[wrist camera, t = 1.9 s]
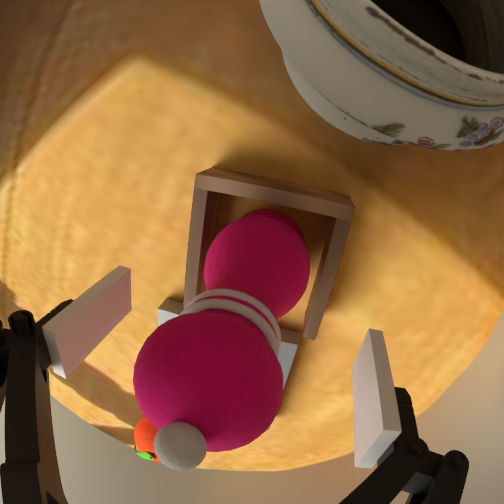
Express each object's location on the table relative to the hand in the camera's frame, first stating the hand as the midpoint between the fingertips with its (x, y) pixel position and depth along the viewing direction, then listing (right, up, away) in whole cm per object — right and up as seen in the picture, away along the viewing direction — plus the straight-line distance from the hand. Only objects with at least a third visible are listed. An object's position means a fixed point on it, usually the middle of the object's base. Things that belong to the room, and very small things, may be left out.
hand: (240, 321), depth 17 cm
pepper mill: (+2, +4, +10) cm, 11 cm away
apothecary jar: (+9, +18, +3) cm, 20 cm away
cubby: (+2, +4, +10) cm, 11 cm away
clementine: (-11, -19, +22) cm, 31 cm away
